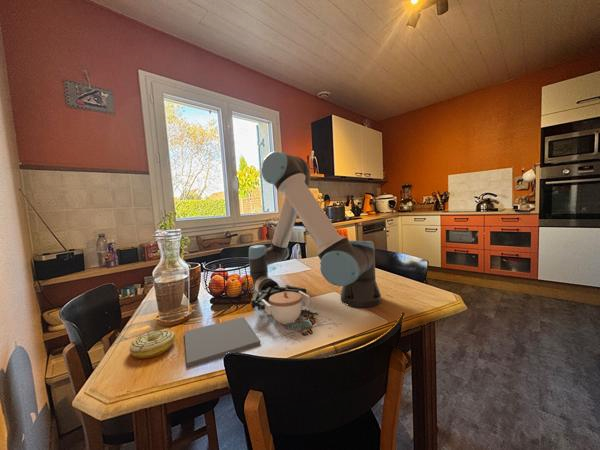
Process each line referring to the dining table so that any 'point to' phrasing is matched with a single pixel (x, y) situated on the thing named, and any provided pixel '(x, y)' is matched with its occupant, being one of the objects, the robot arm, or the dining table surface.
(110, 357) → the dining table surface
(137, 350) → the decorated donut
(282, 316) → the lidded jar
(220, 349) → the mat
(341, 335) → the dining table surface
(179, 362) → the dining table surface
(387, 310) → the dining table surface
